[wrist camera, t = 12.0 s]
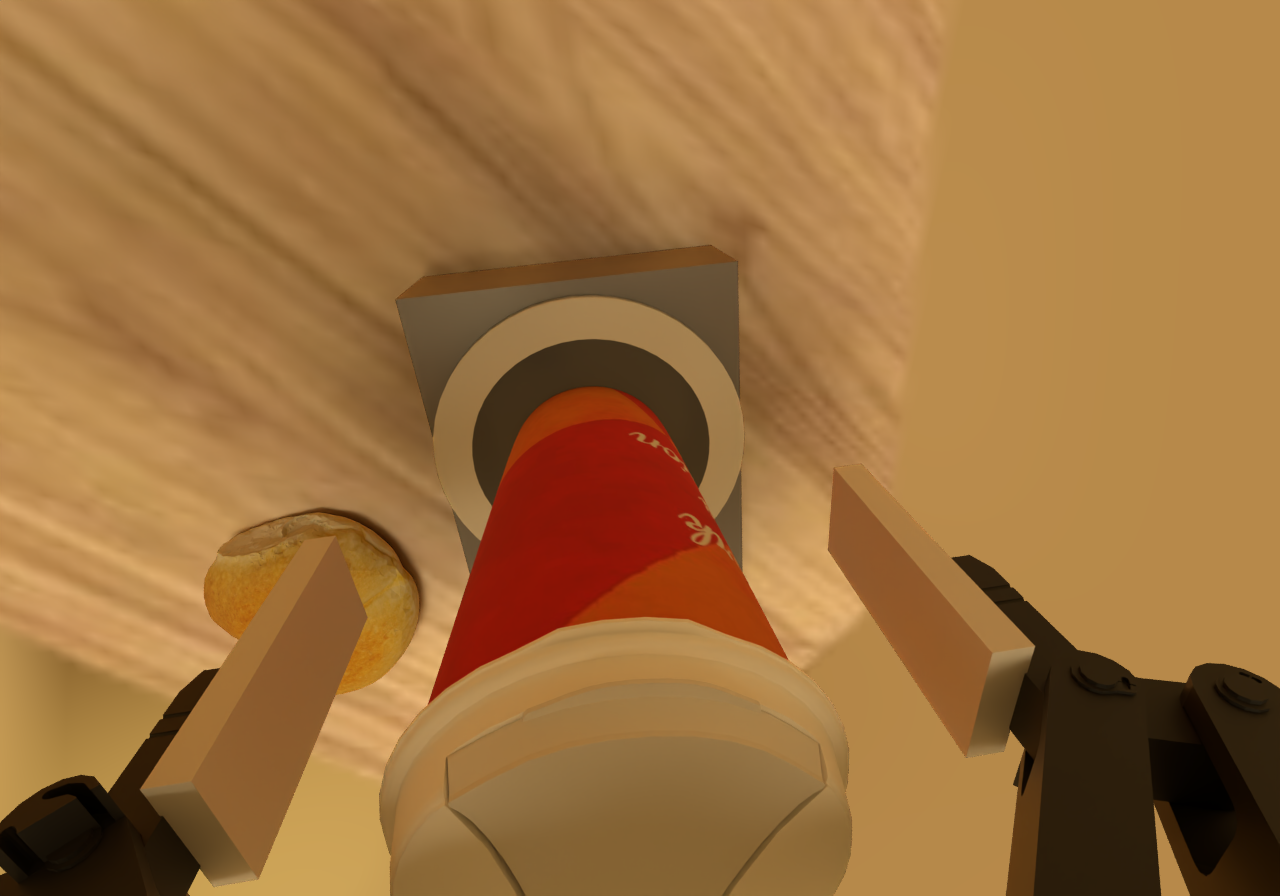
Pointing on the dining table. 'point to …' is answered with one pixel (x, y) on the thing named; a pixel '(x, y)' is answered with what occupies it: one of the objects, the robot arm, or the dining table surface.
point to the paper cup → (613, 695)
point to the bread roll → (372, 563)
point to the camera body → (580, 364)
